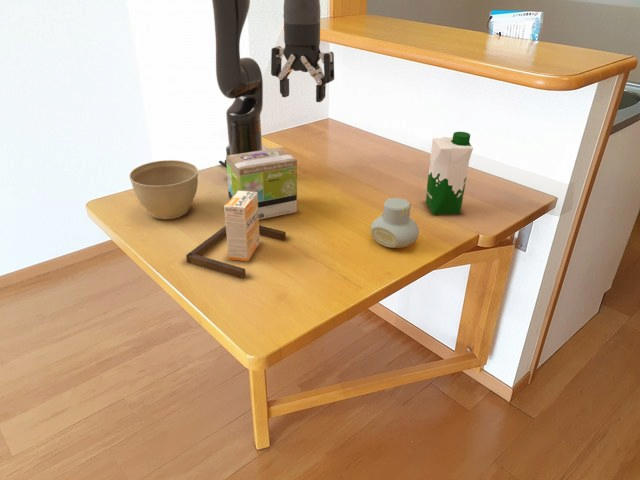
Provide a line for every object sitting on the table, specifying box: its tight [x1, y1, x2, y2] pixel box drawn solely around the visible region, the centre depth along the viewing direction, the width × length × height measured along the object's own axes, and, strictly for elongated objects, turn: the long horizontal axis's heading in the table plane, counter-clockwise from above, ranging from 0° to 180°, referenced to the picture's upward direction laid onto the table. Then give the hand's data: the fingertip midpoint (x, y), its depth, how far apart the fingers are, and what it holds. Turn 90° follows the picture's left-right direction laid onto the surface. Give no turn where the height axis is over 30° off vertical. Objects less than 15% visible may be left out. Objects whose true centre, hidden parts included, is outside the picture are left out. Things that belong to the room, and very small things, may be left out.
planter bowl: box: [129, 159, 199, 220], centre depth 128 cm, size 16×16×11 cm
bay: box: [185, 224, 287, 280], centre depth 114 cm, size 14×18×2 cm
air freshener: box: [370, 197, 420, 249], centre depth 116 cm, size 11×8×10 cm
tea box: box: [225, 146, 298, 220], centre depth 128 cm, size 15×10×15 cm, turn 117°
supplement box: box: [223, 191, 261, 263], centre depth 111 cm, size 8×5×13 cm, turn 167°
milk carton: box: [425, 131, 474, 216], centre depth 128 cm, size 9×9×20 cm
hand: (302, 98), depth 113 cm, fingers open, 8 cm apart
